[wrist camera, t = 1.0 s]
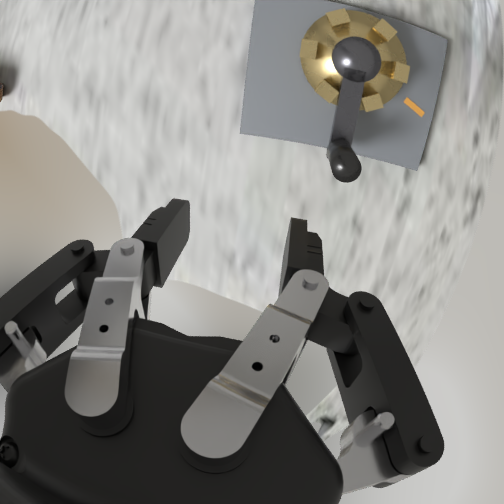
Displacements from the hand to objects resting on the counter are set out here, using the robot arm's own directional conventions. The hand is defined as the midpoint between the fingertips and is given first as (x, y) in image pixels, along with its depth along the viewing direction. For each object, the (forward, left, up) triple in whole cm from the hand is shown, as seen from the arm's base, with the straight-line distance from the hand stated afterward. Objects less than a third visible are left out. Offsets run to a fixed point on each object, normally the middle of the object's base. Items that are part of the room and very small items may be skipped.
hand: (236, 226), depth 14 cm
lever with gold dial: (-6, +6, -20) cm, 22 cm away
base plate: (-7, +6, -21) cm, 23 cm away
